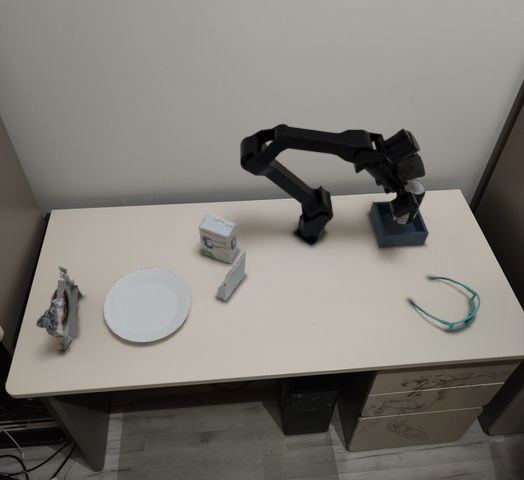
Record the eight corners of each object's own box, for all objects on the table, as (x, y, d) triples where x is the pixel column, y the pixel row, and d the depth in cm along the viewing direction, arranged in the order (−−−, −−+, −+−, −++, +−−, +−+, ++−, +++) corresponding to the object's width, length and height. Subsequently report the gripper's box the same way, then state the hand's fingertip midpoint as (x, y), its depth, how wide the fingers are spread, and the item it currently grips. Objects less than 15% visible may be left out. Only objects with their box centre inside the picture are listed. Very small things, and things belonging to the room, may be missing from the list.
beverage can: (408, 207, 136) (421, 176, 127) (417, 225, 132) (431, 194, 123) (386, 209, 135) (397, 177, 126) (394, 227, 131) (406, 196, 122)
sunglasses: (458, 342, 117) (463, 331, 114) (404, 308, 125) (407, 297, 121) (484, 306, 124) (490, 294, 121) (431, 276, 131) (436, 264, 128)
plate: (97, 288, 123) (95, 283, 122) (177, 263, 129) (176, 258, 127) (115, 359, 111) (113, 354, 110) (203, 328, 117) (202, 323, 116)
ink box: (237, 251, 133) (237, 222, 123) (229, 265, 130) (229, 236, 120) (209, 241, 134) (207, 212, 125) (200, 254, 131) (198, 226, 122)
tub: (379, 247, 135) (383, 235, 131) (369, 213, 143) (372, 201, 139) (423, 245, 136) (428, 233, 132) (410, 211, 144) (415, 199, 140)
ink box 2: (216, 298, 123) (215, 271, 114) (236, 272, 128) (236, 245, 119) (226, 303, 122) (225, 276, 113) (245, 277, 127) (246, 250, 118)
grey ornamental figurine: (65, 297, 121) (50, 266, 111) (83, 297, 122) (69, 266, 111) (53, 353, 112) (35, 325, 102) (73, 352, 112) (56, 324, 102)
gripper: (421, 178, 110) (452, 212, 119) (402, 126, 121) (431, 160, 131) (378, 203, 115) (411, 233, 124) (364, 151, 127) (395, 181, 136)
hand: (413, 200), depth 129 cm, fingers closed on beverage can, 6 cm apart
